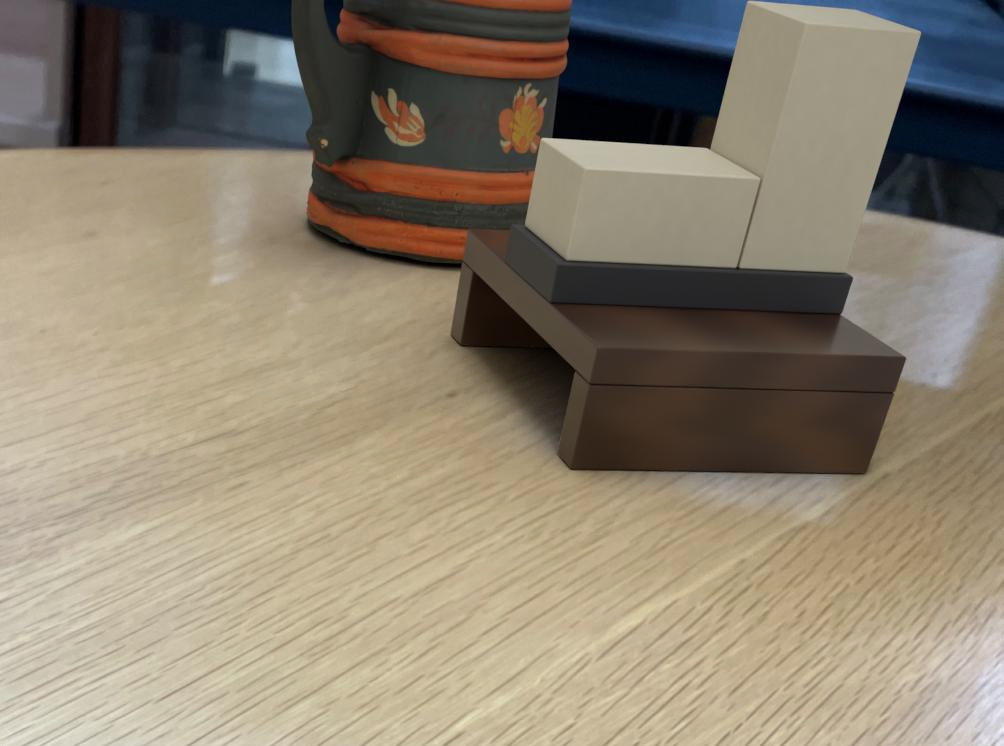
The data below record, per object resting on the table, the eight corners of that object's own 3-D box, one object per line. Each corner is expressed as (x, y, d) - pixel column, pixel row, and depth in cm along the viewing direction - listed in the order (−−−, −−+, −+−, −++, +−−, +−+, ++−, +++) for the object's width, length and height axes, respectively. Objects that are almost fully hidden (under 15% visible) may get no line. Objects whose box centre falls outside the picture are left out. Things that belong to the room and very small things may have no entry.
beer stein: (382, 293, 82) (444, -170, 69) (201, 226, 90) (226, -203, 77) (590, 252, 93) (677, -155, 80) (413, 196, 101) (466, -185, 88)
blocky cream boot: (779, 273, 73) (855, 8, 66) (842, 315, 68) (932, 33, 61) (503, 261, 70) (554, -18, 63) (549, 303, 65) (609, 7, 58)
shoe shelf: (701, 342, 80) (728, 240, 77) (867, 474, 67) (908, 357, 64) (449, 334, 78) (467, 227, 74) (570, 469, 64) (598, 347, 61)
